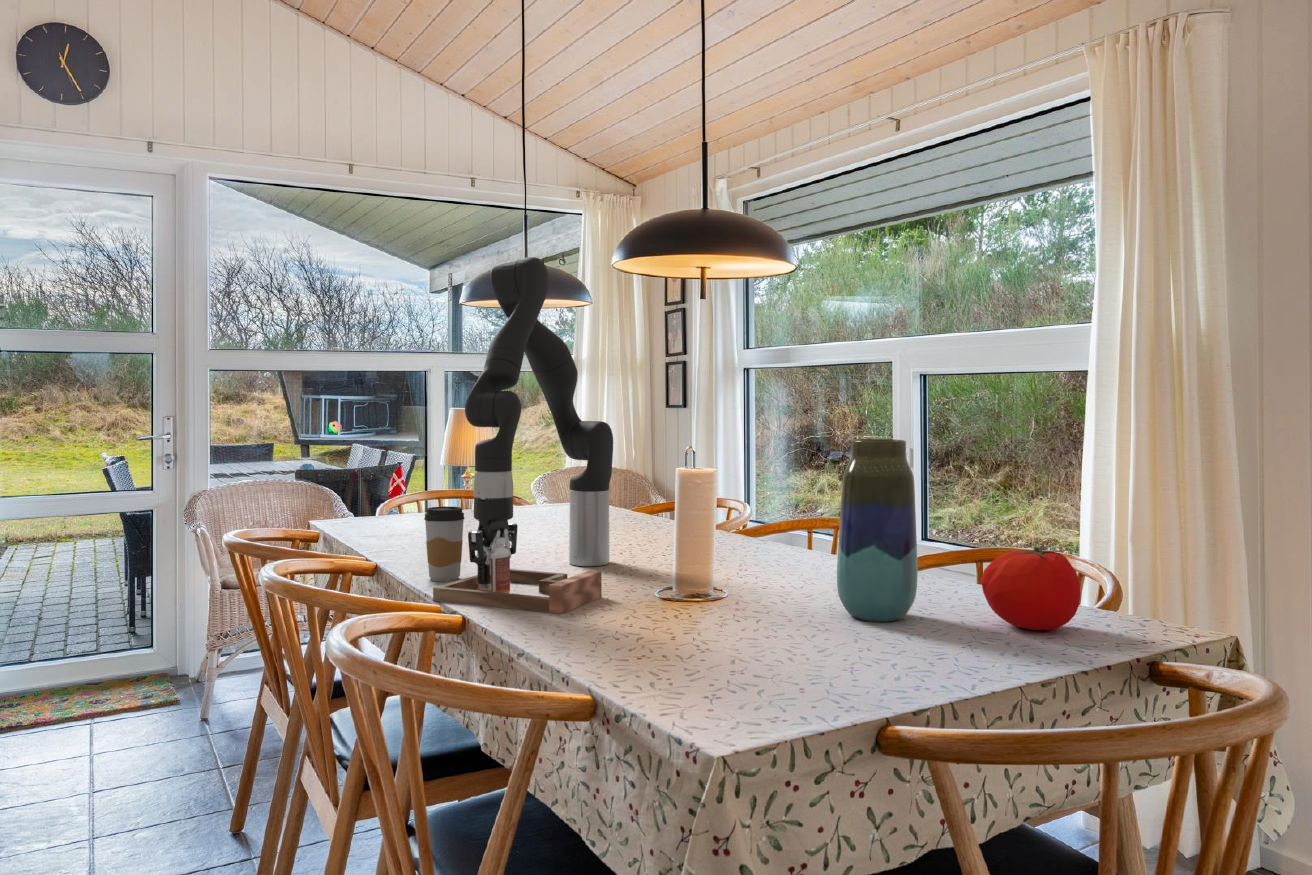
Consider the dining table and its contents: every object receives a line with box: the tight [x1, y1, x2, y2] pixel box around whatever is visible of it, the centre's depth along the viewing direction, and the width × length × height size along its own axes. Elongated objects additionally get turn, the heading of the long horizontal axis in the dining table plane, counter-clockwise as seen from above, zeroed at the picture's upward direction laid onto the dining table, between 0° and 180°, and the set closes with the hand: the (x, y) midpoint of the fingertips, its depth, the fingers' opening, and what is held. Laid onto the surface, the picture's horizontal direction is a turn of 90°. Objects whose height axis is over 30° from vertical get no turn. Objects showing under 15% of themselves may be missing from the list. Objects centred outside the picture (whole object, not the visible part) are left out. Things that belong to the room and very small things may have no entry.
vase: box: [836, 438, 919, 623], centre depth 165 cm, size 14×14×31 cm
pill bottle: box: [477, 537, 511, 593], centre depth 181 cm, size 6×6×11 cm
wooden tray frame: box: [432, 568, 603, 615], centre depth 183 cm, size 24×28×5 cm
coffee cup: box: [424, 506, 465, 582], centre depth 199 cm, size 8×8×15 cm
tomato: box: [980, 544, 1081, 631], centre depth 158 cm, size 16×14×14 cm
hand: (493, 580), depth 182 cm, fingers closed on pill bottle, 6 cm apart
